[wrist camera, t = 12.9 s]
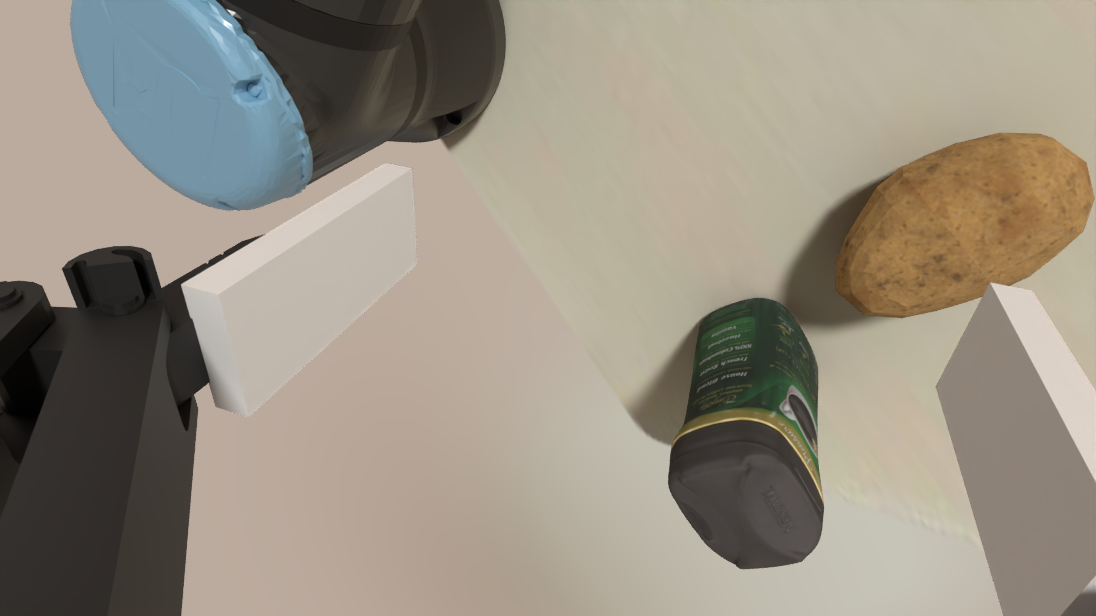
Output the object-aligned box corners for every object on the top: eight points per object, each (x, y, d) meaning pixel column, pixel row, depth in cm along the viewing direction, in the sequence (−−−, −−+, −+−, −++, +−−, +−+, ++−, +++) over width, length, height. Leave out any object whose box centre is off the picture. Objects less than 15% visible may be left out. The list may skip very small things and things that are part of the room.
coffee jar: (684, 316, 52) (638, 478, 37) (779, 280, 48) (770, 447, 33) (738, 405, 55) (716, 590, 40) (832, 379, 50) (846, 574, 35)
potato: (795, 214, 45) (794, 264, 38) (1006, 72, 37) (1050, 104, 30) (878, 311, 46) (891, 375, 40) (1098, 195, 38) (1158, 251, 32)
